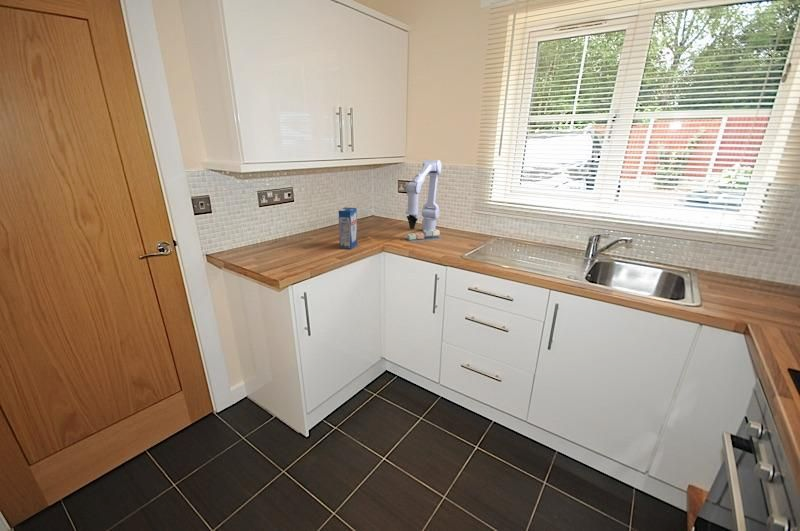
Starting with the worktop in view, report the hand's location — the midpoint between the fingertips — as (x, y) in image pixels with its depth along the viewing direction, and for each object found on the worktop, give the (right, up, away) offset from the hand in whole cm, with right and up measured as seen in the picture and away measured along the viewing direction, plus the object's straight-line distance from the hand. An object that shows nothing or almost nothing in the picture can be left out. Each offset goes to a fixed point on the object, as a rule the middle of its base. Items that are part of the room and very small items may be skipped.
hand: (412, 228), depth 193 cm
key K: (+9, -3, +5) cm, 11 cm away
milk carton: (-34, -11, -10) cm, 37 cm away
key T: (+4, -5, +4) cm, 8 cm away
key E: (0, -5, +2) cm, 6 cm away
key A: (+14, -3, +7) cm, 16 cm away
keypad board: (+7, -6, +5) cm, 10 cm away
